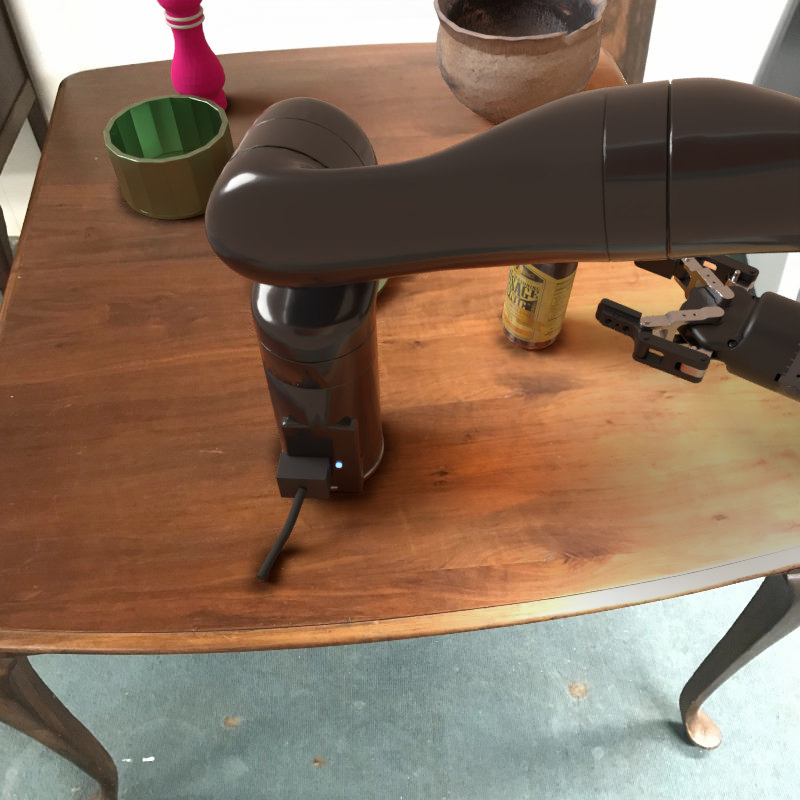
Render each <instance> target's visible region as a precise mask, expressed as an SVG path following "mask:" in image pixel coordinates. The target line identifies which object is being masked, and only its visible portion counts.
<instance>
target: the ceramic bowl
mask: <svg viewBox="0 0 800 800" xmlns="http://www.w3.org/2000/svg"><path fill="white" fill-rule="evenodd" d="M610 1H611V0H433V8H434V10H435V13H436V15H437V18H438V21H439V25H438V29H437V32H436V42H435V48H436V49H435V54H436V62H437V66H438V69H439V73H440V75H441V77H442V79H443V81H444V83H445V84H446V85H447V87H448V89H449V90H450V91H451V93H452V94H453V96H454V97H455V98H456V100H457V101H458V102H460V103H461V104H462V105H463V106H465V107H466V108H467V109H468V110H470V111H471V112H473V113H474V114H476V115H478V116H480V117H481V118H484V119H486V120H488V121H491V122H495V123H497V124H500V123H502V122H504V121H506V120H508V119H510V118H513V117H515V116H517V115H519V114H521V113H524V112H526V111H528V110H530V109H533V108H535V107H537V106H540V105H542V104H545V103H547V102H550V101H553V100H555V99H558V98H561V97H564V96H568V95H571V94H575V93H579V92H584V90H585V88H586V87H587V86H588V84H589V82H590V80H591V78H592V77H593V75H594V73H595V71H596V69H597V66H598V63H599V60H600V56H601V55H600V53H601V48H602V40H603V39H602V38H603V36H602V35H603V34H602V32H603V31H602V29H603V28H602V22H603V19H604V18H605V16H606V12H607V10H608V7H609V4H610Z"/></svg>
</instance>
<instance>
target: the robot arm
mask: <svg viewBox="0 0 800 800" xmlns="http://www.w3.org/2000/svg"><path fill="white" fill-rule="evenodd" d="M204 229H205V235H206V239H207V242H208V244H209V246H210V248H211V250H212V252H213V253H214V254H215V255H216V257H217V258H218V259H219V260H220V261H221V263H223V264H224V265H225V266H226V267H228V269H230V270H232V271H233V272H234V273H236V274H237V275H239V276H241V277H243V278H245V279H248V280H250V281H251V282H252V287H251V292H250V312H251V318H252V322H253V326H254V330H255V334H256V339H257V343H258V347H259V351H260V357H261V361H262V366H263V370H264V375H265V379H266V384H267V389H268V393H269V397H270V402H271V406H272V411H273V416H274V419H275V424H276V428H277V429H276V430H277V433H278V437H279V441H280V442H279V443H280V447H281V452H280V455H279V459H278V465H277V470H276V476H275V479H276V483H277V487H278V491H279V496H280V497H281V498H291V499H293V501H292V504H291V507H290V510H289V512H288V515H287V518H286V521H285V523H284V525H283V527H282V530H281V532H280V533H279V535H278V537H277V538H276V540H275V541H274V543H273V545H272V547H271V549H270V551H269V552H268V554H267V556H266V558H265V560H264V562H263V564H262V565H261V567H260V569H259V570H258V572H257V574H256V578H257V579H258V580H260V581H262V582H264V581H266V579H267V578H268V575H270V572H271V570H272V568H273V567H274V564H275V562H276V561H277V559H278V557H279V555H280V553H281V551H282V549H283V548H284V546H285V545H286V543H287V541H288V539H290V536H291V534H292V532H293V529H294V527H295V525H296V522H297V520H298V517H299V515H300V512H301V509H302V506H303V503H304V501H305V499H307V500H308V499H311V500H330V496H331V492H344V493H362V492H363V489H364V482H365V481H367V480H368V479H369V478H370V477H372V475H374V473H375V472H376V471H377V470H378V468H379V467H380V465H381V463H382V460H383V457H384V452H385V440H384V434H383V421H382V403H381V385H380V367H379V364H380V363H379V349H378V326H377V325H378V324H377V298H378V296H377V293H378V287H379V282H380V280H381V279H388V278H389V279H394V278H399V277H400V278H401V277H406V276H414V275H421V274H427V273H428V274H429V273H436V272H447V271H457V270H473V269H474V270H475V269H488V268H501V267H510V266H517V265H530V264H545V263H562V262H578V263H623V262H633V264H634V266H635V267H637V268H639V269H642V270H644V271H647V272H649V273H652V274H655V275H656V276H660V277H663V278H665V279H668V280H672V279H673V280H674V281H675V282H676V284H677V285H678V286H679V287H680V288H681V289H682V290H683V292H684V298H685V301H684V302H683V303H682V304H681V305H680V307H679V309H678V310H670V311H667V313H666V314H663V315H647V316H646V315H645V316H643V312H641V311H638V310H636V309H634V308H631V307H629V306H626V305H625V304H622V303H619V302H617V301H614V300H612V299H610V298H608V297H607V298H606V297H604V298H602V299H601V300H600V301H599V303H598V304H597V308H596V311H595V315H594V317H595V319H596V321H598V323H599V324H601V325H602V326H603V327H604V328H605V327H606V328H608V329H610V330H613V331H615V332H617V333H619V334H622V335H624V336H627V337H629V338H631V340H632V341H633V351H632V354H631V358H632V359H633V360H634V361H635V362H637V363H639V364H643V365H644V366H648V367H650V368H653V369H656V370H658V371H661V372H663V373H666V374H669V375H671V376H674V377H677V378H679V379H681V380H684V381H687V382H689V383H692V384H700V383H701V382H702V381H703V378H704V377H705V376H706V373H707V371H708V368H709V365H710V363H711V361H718V362H722V363H723V364H724V365H725V368H726V371H727V372H728V373H729V374H731V375H732V376H736V377H738V378H741V379H743V380H745V381H747V382H749V383H753V384H754V385H757V386H759V387H762V388H764V389H766V390H769V391H771V392H774V393H776V394H779V395H781V396H783V397H786V398H788V399H790V400H793V401H795V402H798V403H800V301H797V300H795V299H792V298H789V297H787V296H784V295H782V294H779V293H776V292H774V291H769V290H768V291H765V292H762V294H761V295H760V296H756V295H754V294H752V293H751V292H752V289H753V288H754V286H755V284H756V282H757V279H758V277H759V275H760V269H758V268H757V267H754V266H753V265H750V264H747V263H745V262H743V261H740V260H737V259H735V258H733V257H731V256H733V255H760V254H792V253H793V254H795V253H796V254H797V253H800V97H797V96H794V95H791V94H788V93H784V92H781V91H778V90H775V89H772V88H767V87H763V86H760V85H756V84H754V83H753V84H752V83H748V82H742V81H737V80H731V79H726V78H721V77H720V78H719V77H681V78H673V79H672V80H671V81H670V79H663V80H656V81H646V82H639V83H638V82H637V83H630V84H621V85H614V86H613V85H612V86H610V87H609V86H606V87H600V88H595V89H590V90H583V91H582V92H579V93H575V94H571V95H568V96H564V97H561V98H558V99H555V100H553V101H550V102H547V103H545V104H542V105H540V106H537V107H535V108H533V109H530V110H528V111H526V112H524V113H521V114H519V115H517V116H515V117H513V118H510V119H508V120H506V121H504V122H502V123H497V124H496V125H493V126H492V127H490V128H488V129H485V130H484V131H482V132H479V133H478V134H475V135H473V136H471V137H469V138H467V139H465V140H462V141H460V142H458V143H456V144H453V145H451V146H448V147H446V148H444V149H442V150H438V151H436V152H432V153H430V154H427V155H425V156H424V155H423V156H420V157H417V158H416V157H415V158H413V159H409V160H404V161H403V160H402V161H397V162H391V163H383V164H379V162H378V159H377V156H376V153H375V150H374V148H373V145H372V144H371V141H370V139H369V137H368V136H367V135H366V133H365V132H364V130H363V129H362V128H361V126H360V125H359V124H358V123H357V122H356V121H355V119H354V118H352V116H350V115H349V114H348V113H347V112H345V111H344V110H342V109H341V108H340V107H338V106H336V105H334V104H332V103H330V102H329V101H328V102H327V101H325V100H322V99H319V98H315V97H309V96H307V97H306V96H297V97H295V96H294V97H290V98H286V99H283V100H280V101H278V102H275V103H273V104H272V105H270V106H268V107H267V108H265V109H264V110H263V111H262V112H261V113H260V114H259V115H258V116H257V117H256V118H255V120H253V122H252V123H251V125H250V127H249V128H248V130H247V131H246V132H245V134H244V135H243V136H242V139H241V140H240V142H239V143H238V145H237V146H236V148H235V149H234V153H233V154H232V156H231V157H230V159H229V161H228V162H227V164H226V165H225V167H224V169H223V170H222V172H221V174H220V175H219V177H218V179H217V180H216V182H215V184H214V187H213V189H212V191H211V194H210V197H209V200H208V203H207V207H206V212H205V214H204ZM730 255H731V256H730ZM705 262H707V263H709V264H712V265H714V266H715V269H713V268H711V267H709V266H706V265H704V264H705ZM650 350H653V351H656V352H658V353H659V354H658V353H656V352H652V351H650ZM660 353H661V354H662V355H661V354H660Z"/></svg>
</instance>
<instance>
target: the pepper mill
mask: <svg viewBox="0 0 800 800" xmlns="http://www.w3.org/2000/svg"><path fill="white" fill-rule="evenodd" d="M156 2H157V3H158V5H159V6H160V7H162V8H163V9H164V11H163V16H164V18H165V20H164V21H165V24H166V25H167V26H168V27H169V28H170V29H171V32H172V36H173V42H174V49H173V55H172V61H171V66H170V78H171V84H172V87H173V89H174V90H175V92H177V93H178V95H194V96H198V97H201V98H205V99H209V100H212V101H213V102H214V103H216V104H217V105H218V106H220V107H221V108H223V109H224V111H225V110H226V109H227V106H228V101H227V97H226V92H225V89H223V88H224V86H225V83H226V73H225V70H224V67H223V64H222V63H221V61H220V59H219V58H218V57H217V55H216V53H215V52H214V51H213V49H212V48H211V46H210V45H209V43H208V41H207V39H206V35H205V32H204V26H203V23H204V21H205V19H206V16H205V14H204V8H203V6H202V5H201V4H202V2H203V0H156Z"/></svg>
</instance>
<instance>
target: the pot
mask: <svg viewBox="0 0 800 800" xmlns="http://www.w3.org/2000/svg"><path fill="white" fill-rule="evenodd" d="M232 137H233V136H232V132H231V128H230V123H229V120H228V116H227V114H226V111H225V110H224V109H223V108H221V107H220V106H218V105H217V104H216V103H214V102H213V101H212V100H209V99H205V98H201V97H198V96H194V95H181V94H173V93H171V94H164V95H158V96H153V97H152V96H151V97H148V98H147V97H146V98H144V99H142V100H140V101H137V102H135V103H132V104H130V105H126V106H125V107H123V108H122V109H121V110H119V111H118V112H117V113H116V114H114V115H113V116H112V117H111V118H110V119H109V121H108V122H107V124H106V126H105V127H104V130H103V139H104V144H105V147H106V151H107V154H108V156H109V159H110V162H111V166H112V168H113V171H114V173H115V176H116V179H117V182H118V185H119V188H120V191H121V193H122V196H123V199H124V200H125V202H126V203H127V204H128V206H129V207H130V208H131V209H132V210H134V211H135V212H137V214H141V215H143V216H145V217H148V218H150V219H151V218H152V219H157V220H165V221H166V220H167V221H168V220H169V221H170V220H172V221H173V220H175V221H176V220H185V219H190V218H195V217H199V216H202V215H205V212H206V207H207V203H208V200H209V197H210V194H211V191H212V189H213V187H214V184H215V182H216V180H217V179H218V177H219V175H220V174H221V172H222V170H223V169H224V167H225V165H226V164H227V162H228V161H229V159H230V157H231V156H232V154H233V153H234V151H235V148H234V142H233V138H232Z"/></svg>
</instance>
